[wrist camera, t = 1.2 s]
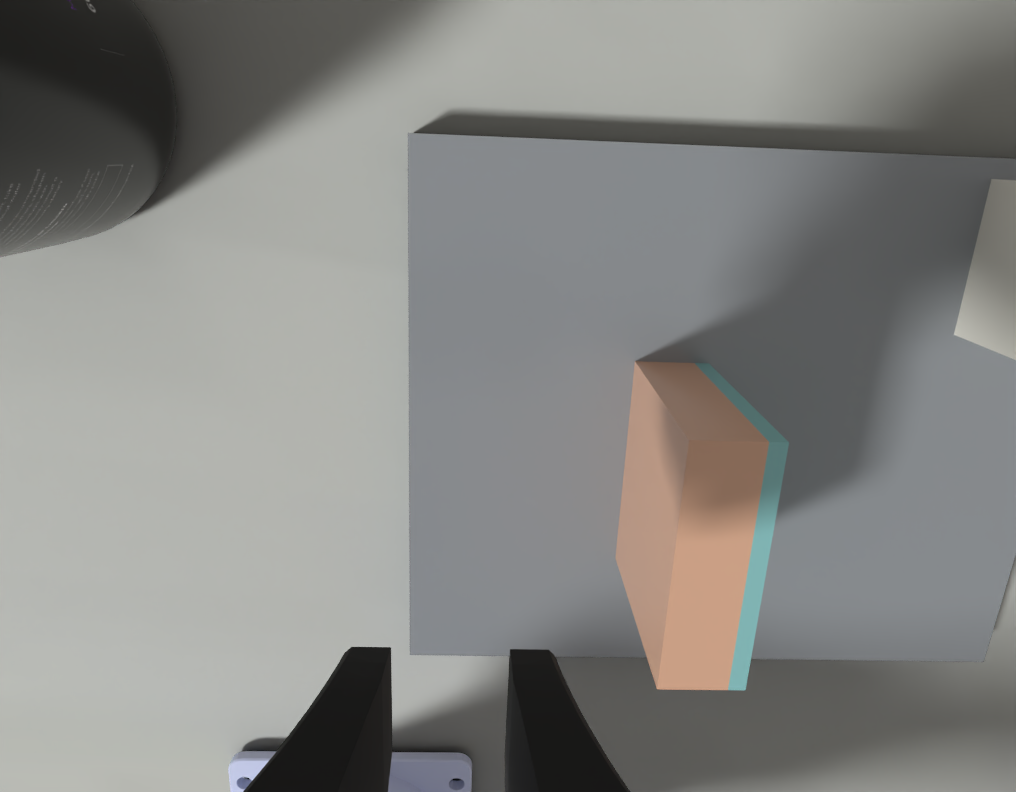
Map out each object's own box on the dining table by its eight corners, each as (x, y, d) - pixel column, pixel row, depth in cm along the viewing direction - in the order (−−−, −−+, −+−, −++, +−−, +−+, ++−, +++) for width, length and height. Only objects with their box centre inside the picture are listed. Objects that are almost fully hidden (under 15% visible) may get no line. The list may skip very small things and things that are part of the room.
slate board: (963, 641, 24) (983, 661, 23) (412, 634, 24) (409, 654, 23) (1101, 162, 19) (1132, 163, 18) (411, 133, 19) (408, 133, 18)
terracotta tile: (682, 559, 22) (745, 690, 17) (615, 558, 22) (657, 689, 16) (708, 363, 20) (788, 442, 15) (634, 361, 20) (688, 440, 15)
